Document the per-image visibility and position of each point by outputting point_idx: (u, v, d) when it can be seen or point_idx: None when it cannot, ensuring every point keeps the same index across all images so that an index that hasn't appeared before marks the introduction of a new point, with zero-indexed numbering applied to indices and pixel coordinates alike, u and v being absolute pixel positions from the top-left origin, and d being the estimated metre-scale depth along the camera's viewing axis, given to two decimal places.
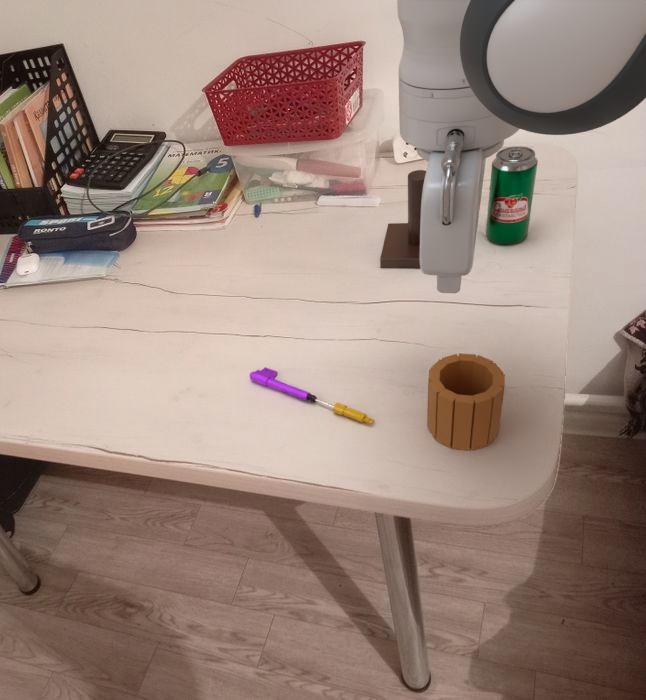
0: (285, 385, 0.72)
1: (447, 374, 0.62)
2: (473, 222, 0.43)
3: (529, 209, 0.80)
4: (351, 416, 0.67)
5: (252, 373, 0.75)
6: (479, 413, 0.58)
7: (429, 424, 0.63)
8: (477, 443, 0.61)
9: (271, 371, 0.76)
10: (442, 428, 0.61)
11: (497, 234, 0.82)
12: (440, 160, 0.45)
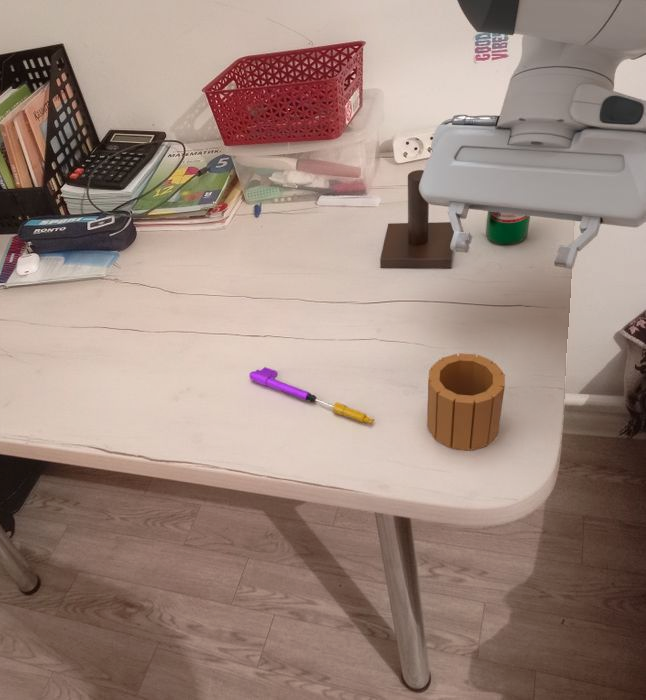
0: (285, 385, 0.72)
1: (447, 374, 0.62)
2: (433, 152, 0.64)
3: None
4: (351, 416, 0.67)
5: (252, 373, 0.75)
6: (479, 413, 0.58)
7: (429, 424, 0.63)
8: (477, 443, 0.61)
9: (271, 371, 0.75)
10: (442, 428, 0.61)
11: (497, 234, 0.82)
12: None
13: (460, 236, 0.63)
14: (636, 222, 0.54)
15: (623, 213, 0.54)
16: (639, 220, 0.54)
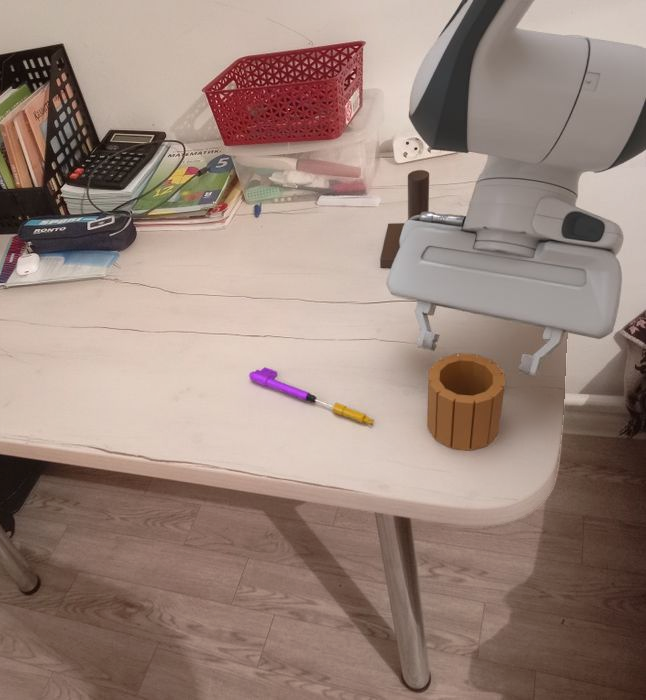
0: (285, 385, 0.72)
1: (447, 374, 0.62)
2: (400, 249, 0.64)
3: None
4: (351, 416, 0.67)
5: (252, 373, 0.75)
6: (479, 413, 0.58)
7: (429, 424, 0.63)
8: (477, 443, 0.61)
9: (271, 371, 0.75)
10: (442, 428, 0.61)
11: None
12: None
13: (427, 336, 0.62)
14: (598, 337, 0.54)
15: (585, 328, 0.54)
16: (601, 336, 0.54)
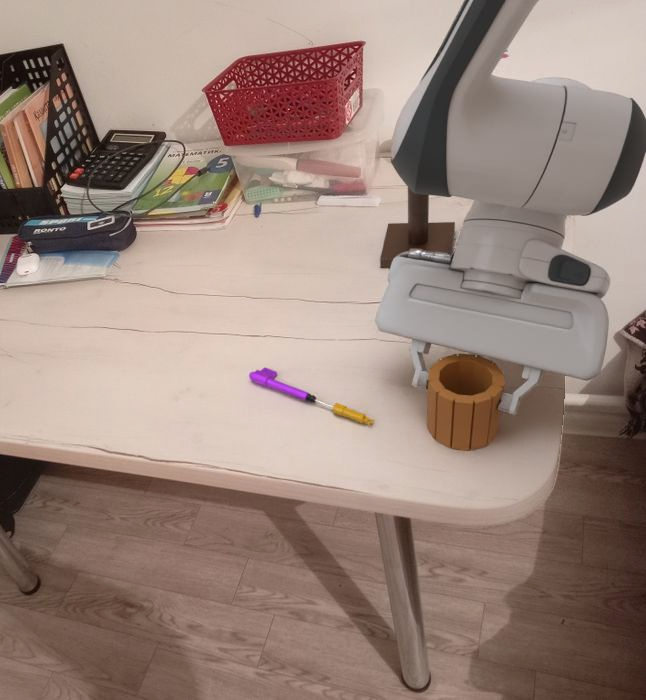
0: (284, 385, 0.72)
1: (447, 374, 0.62)
2: (389, 286, 0.64)
3: None
4: (350, 416, 0.67)
5: (252, 373, 0.75)
6: (479, 413, 0.58)
7: (429, 424, 0.63)
8: (477, 443, 0.61)
9: (271, 371, 0.75)
10: (442, 428, 0.61)
11: None
12: None
13: (421, 375, 0.62)
14: None
15: (572, 371, 0.54)
16: (588, 379, 0.54)
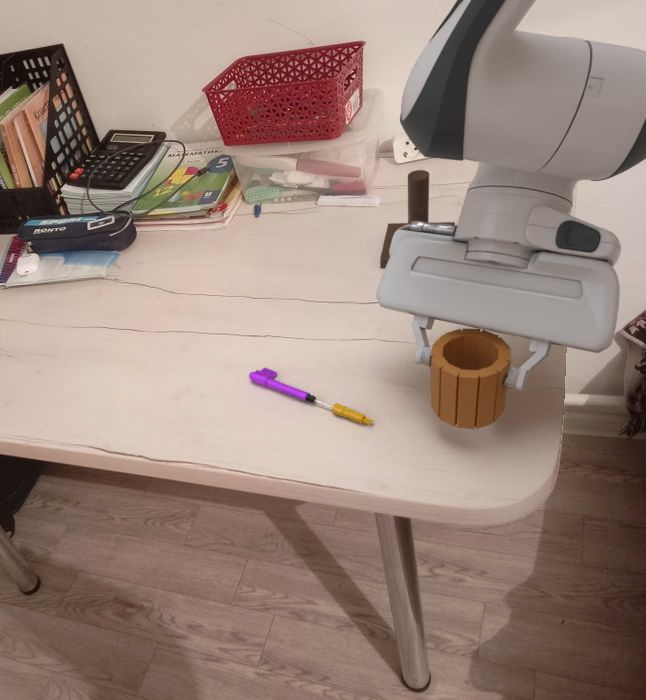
0: (284, 385, 0.72)
1: (451, 351, 0.60)
2: (390, 260, 0.62)
3: None
4: (350, 417, 0.67)
5: (251, 373, 0.75)
6: (484, 388, 0.55)
7: (432, 402, 0.61)
8: (482, 421, 0.58)
9: (271, 371, 0.75)
10: (446, 406, 0.59)
11: None
12: None
13: (424, 351, 0.60)
14: (595, 351, 0.52)
15: (581, 343, 0.52)
16: (598, 350, 0.51)
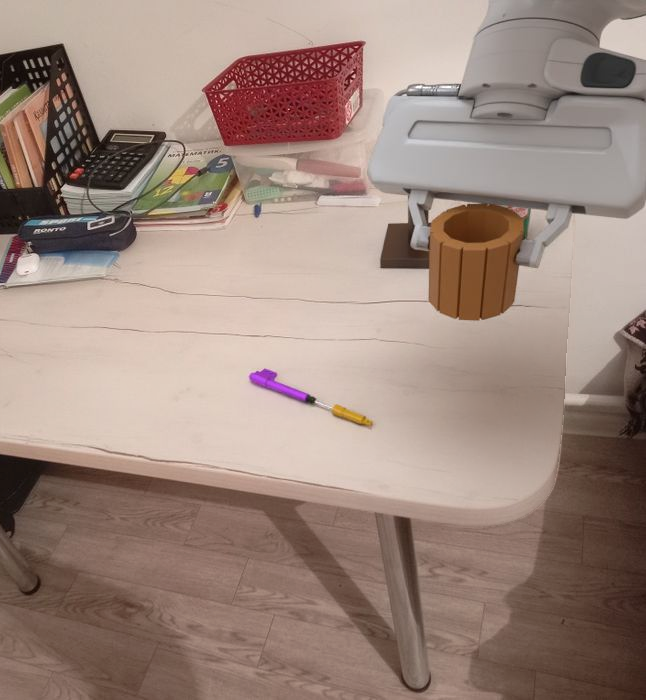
0: (284, 386, 0.72)
1: (453, 231, 0.51)
2: (383, 128, 0.53)
3: (529, 209, 0.80)
4: (350, 418, 0.67)
5: (251, 374, 0.75)
6: (492, 265, 0.47)
7: (431, 294, 0.53)
8: (489, 310, 0.50)
9: (271, 372, 0.75)
10: (447, 293, 0.50)
11: None
12: None
13: (422, 231, 0.51)
14: (626, 212, 0.44)
15: (610, 200, 0.43)
16: (630, 209, 0.43)
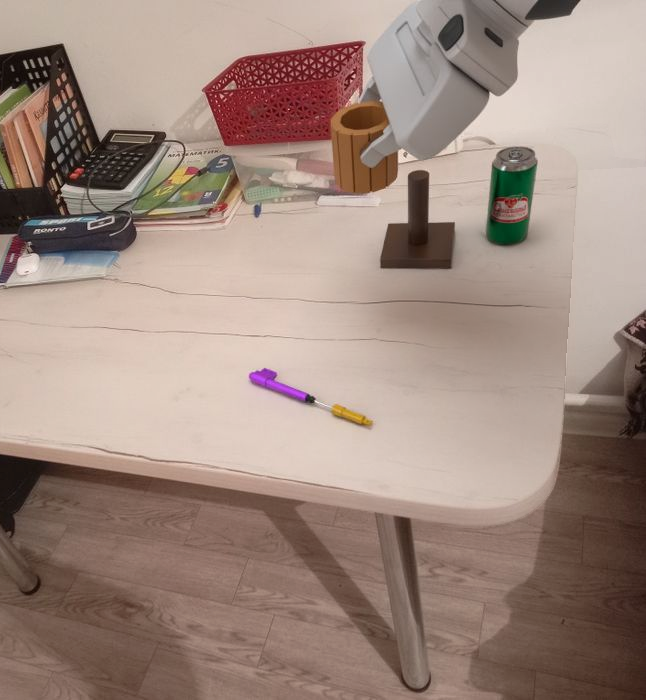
0: (284, 386, 0.72)
1: (373, 119, 0.66)
2: (396, 18, 0.65)
3: (529, 209, 0.80)
4: (350, 418, 0.67)
5: (251, 374, 0.75)
6: (342, 146, 0.64)
7: None
8: (345, 184, 0.67)
9: (270, 372, 0.75)
10: None
11: (497, 234, 0.82)
12: None
13: None
14: None
15: (396, 134, 0.56)
16: (401, 147, 0.56)
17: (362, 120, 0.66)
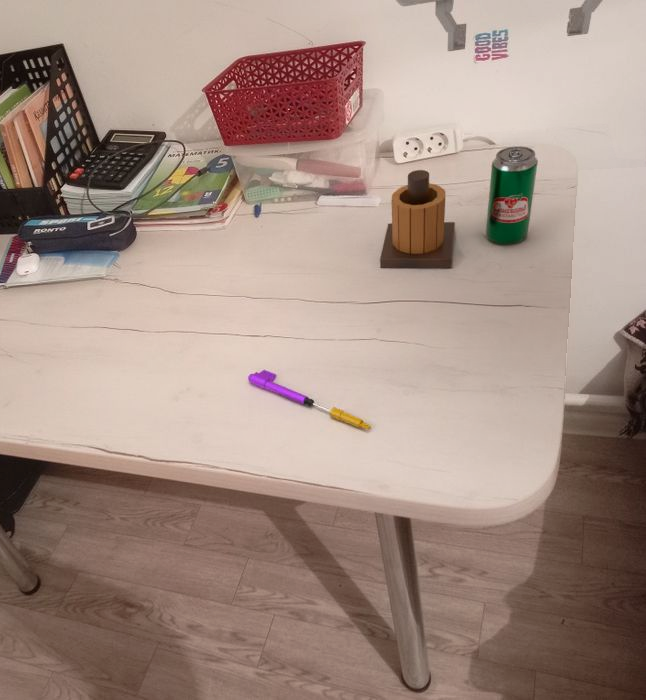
0: (283, 388, 0.72)
1: None
2: None
3: (529, 209, 0.80)
4: (348, 421, 0.67)
5: (250, 375, 0.75)
6: None
7: None
8: None
9: (270, 374, 0.75)
10: None
11: (497, 234, 0.82)
12: None
13: None
14: None
15: None
16: None
17: (432, 199, 0.83)
